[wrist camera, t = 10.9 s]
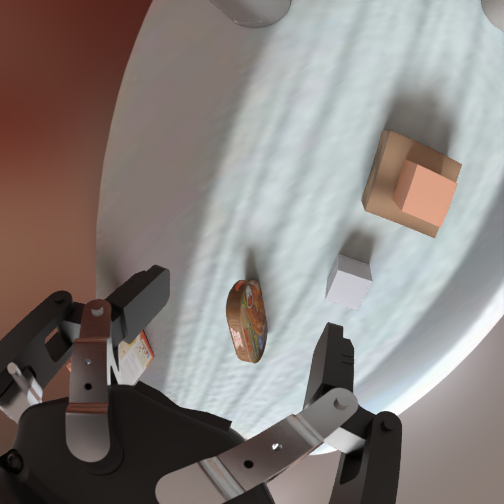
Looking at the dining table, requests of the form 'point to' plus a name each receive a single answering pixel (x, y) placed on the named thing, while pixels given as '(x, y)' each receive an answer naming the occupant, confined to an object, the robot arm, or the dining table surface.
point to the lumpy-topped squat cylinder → (494, 12)
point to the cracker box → (133, 358)
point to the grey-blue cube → (348, 282)
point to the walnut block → (388, 172)
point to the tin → (247, 320)
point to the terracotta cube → (423, 193)
